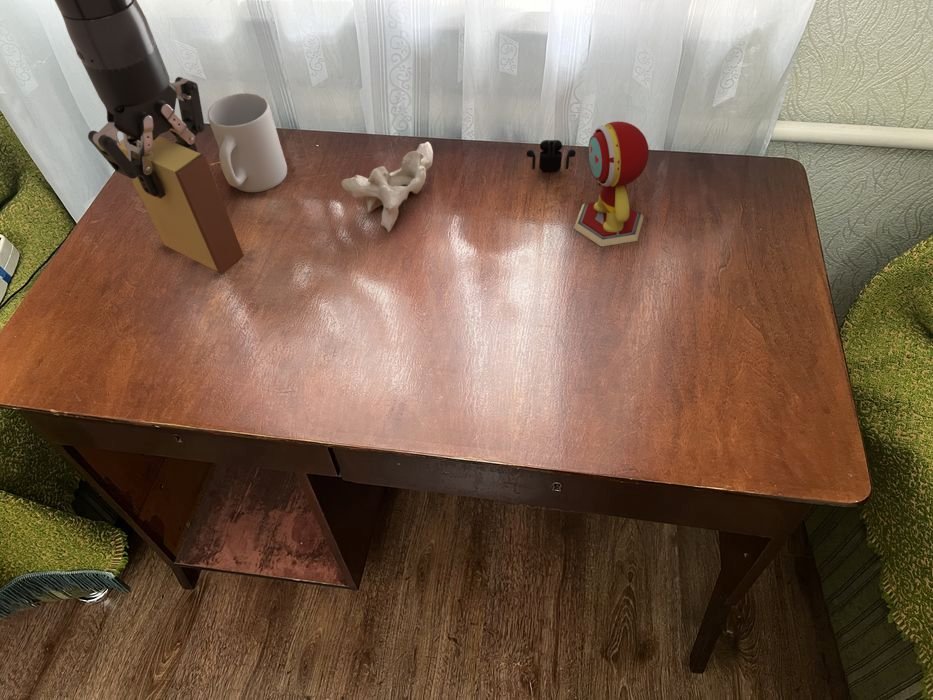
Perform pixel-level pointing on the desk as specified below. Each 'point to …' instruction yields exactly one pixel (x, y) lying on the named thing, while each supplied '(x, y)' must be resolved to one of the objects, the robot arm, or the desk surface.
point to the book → (189, 207)
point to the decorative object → (392, 184)
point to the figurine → (614, 184)
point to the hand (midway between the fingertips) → (176, 181)
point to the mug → (247, 142)
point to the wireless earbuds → (550, 156)
